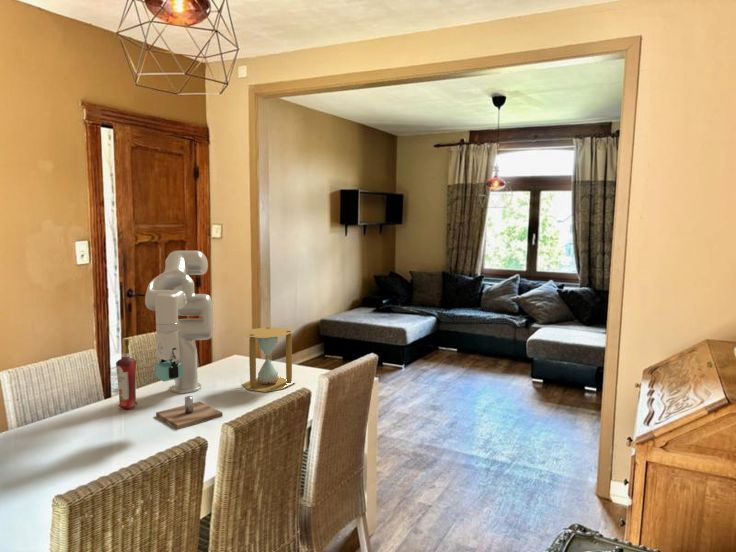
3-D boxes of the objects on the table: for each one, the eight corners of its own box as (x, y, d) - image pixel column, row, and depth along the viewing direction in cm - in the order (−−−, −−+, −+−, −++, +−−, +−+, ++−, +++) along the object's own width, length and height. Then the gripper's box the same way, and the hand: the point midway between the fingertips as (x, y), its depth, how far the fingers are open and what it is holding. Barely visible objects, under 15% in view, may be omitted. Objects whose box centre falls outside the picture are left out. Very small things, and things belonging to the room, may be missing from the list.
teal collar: (155, 377, 192) (155, 363, 191) (174, 373, 197) (173, 360, 196) (163, 381, 187) (163, 367, 186) (182, 377, 192) (182, 364, 191)
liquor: (113, 409, 210) (110, 340, 208) (129, 403, 217) (126, 336, 214) (126, 412, 207) (123, 342, 204) (141, 406, 213) (139, 338, 211)
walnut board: (156, 416, 203) (156, 412, 203) (199, 404, 216) (199, 401, 216) (177, 429, 190) (177, 425, 190) (222, 416, 203) (222, 412, 203)
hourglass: (272, 374, 260) (271, 324, 257) (304, 383, 245) (303, 330, 243) (232, 385, 241) (231, 331, 239) (264, 395, 227) (263, 338, 225)
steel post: (183, 412, 203) (183, 397, 202) (191, 410, 205) (190, 395, 204) (187, 414, 201) (187, 399, 200) (194, 412, 203) (194, 397, 202)
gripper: (147, 325, 193) (149, 372, 195) (167, 333, 181) (169, 383, 183) (167, 322, 198) (168, 368, 201) (188, 329, 186) (190, 378, 188)
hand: (169, 375), depth 192 cm, fingers closed on teal collar, 7 cm apart
